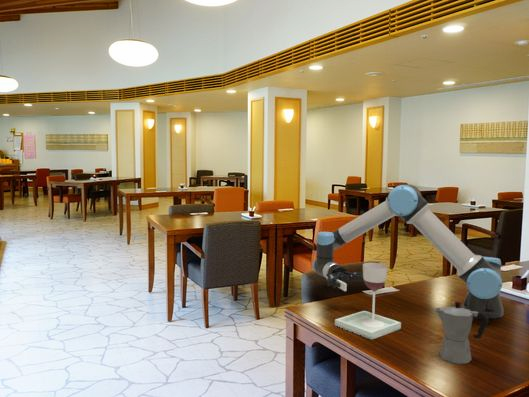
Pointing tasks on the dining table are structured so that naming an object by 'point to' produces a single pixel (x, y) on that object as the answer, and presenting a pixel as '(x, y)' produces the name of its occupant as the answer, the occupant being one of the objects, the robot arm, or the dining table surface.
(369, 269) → the wineglass
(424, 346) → the dining table surface
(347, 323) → the tray
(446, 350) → the coffeepot
